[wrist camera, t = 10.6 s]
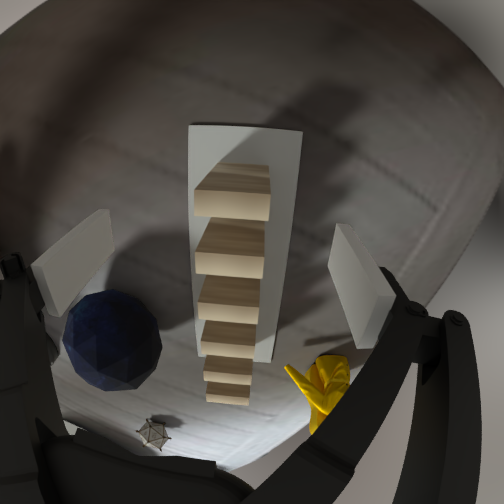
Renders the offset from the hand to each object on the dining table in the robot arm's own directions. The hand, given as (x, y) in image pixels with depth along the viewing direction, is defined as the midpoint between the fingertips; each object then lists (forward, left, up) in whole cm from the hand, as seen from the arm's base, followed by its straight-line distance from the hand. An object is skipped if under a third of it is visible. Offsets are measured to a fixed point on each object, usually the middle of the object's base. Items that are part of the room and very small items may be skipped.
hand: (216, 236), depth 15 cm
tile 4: (0, -10, -16) cm, 19 cm away
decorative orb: (-17, -22, -17) cm, 32 cm away
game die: (-20, -63, -17) cm, 68 cm away
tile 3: (0, -15, -16) cm, 22 cm away
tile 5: (0, -5, -16) cm, 17 cm away
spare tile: (0, 0, -16) cm, 16 cm away
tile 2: (0, -20, -16) cm, 26 cm away
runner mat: (0, -12, -16) cm, 21 cm away
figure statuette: (+16, -31, -17) cm, 39 cm away
